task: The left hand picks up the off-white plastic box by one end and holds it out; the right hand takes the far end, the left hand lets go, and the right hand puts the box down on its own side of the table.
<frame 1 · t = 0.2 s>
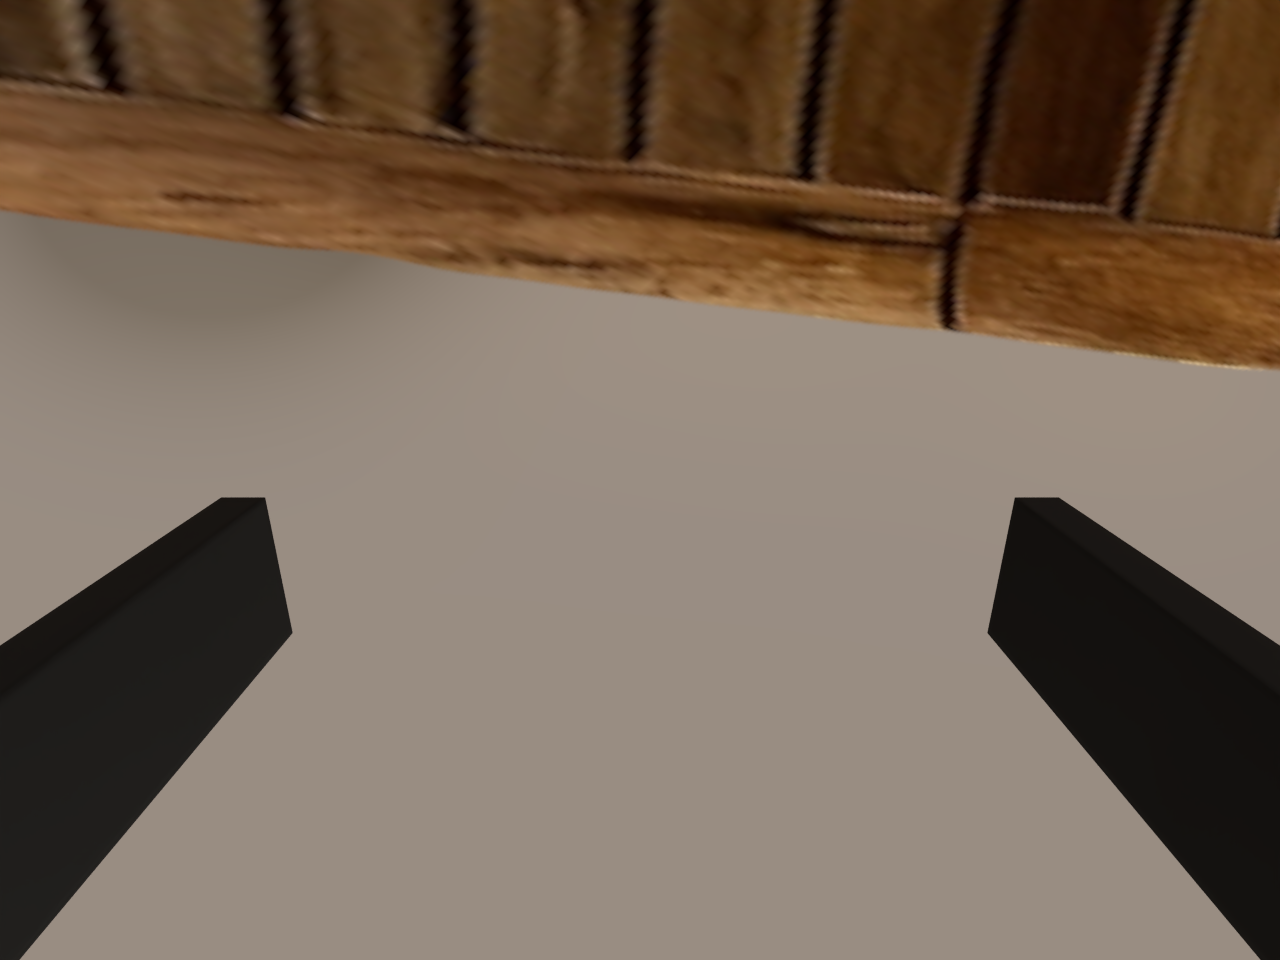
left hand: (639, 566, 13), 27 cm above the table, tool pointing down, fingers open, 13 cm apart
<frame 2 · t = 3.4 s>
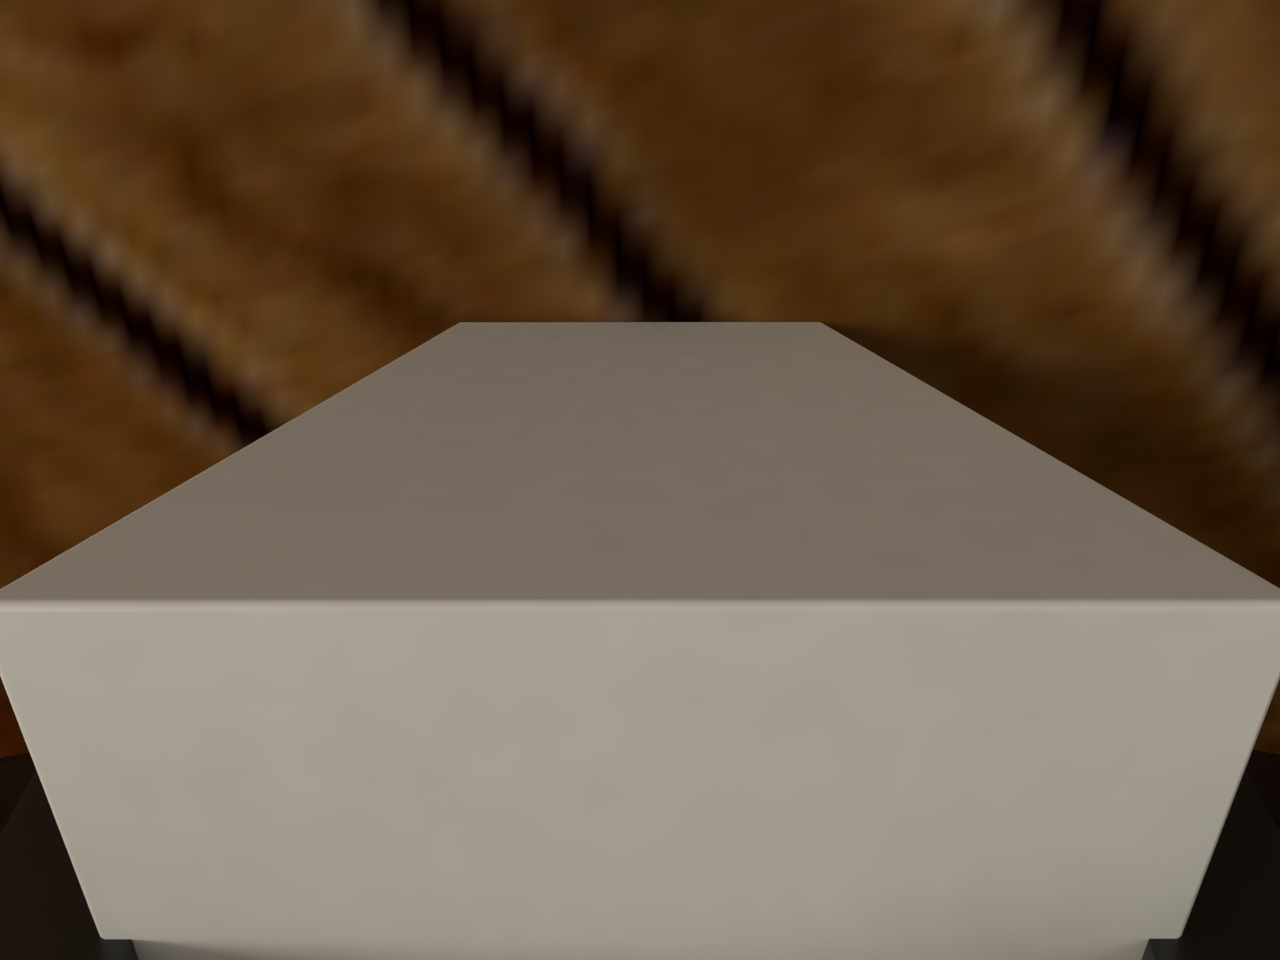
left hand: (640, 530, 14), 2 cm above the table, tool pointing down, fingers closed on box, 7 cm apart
box: (640, 774, 19), on the table, touching left hand
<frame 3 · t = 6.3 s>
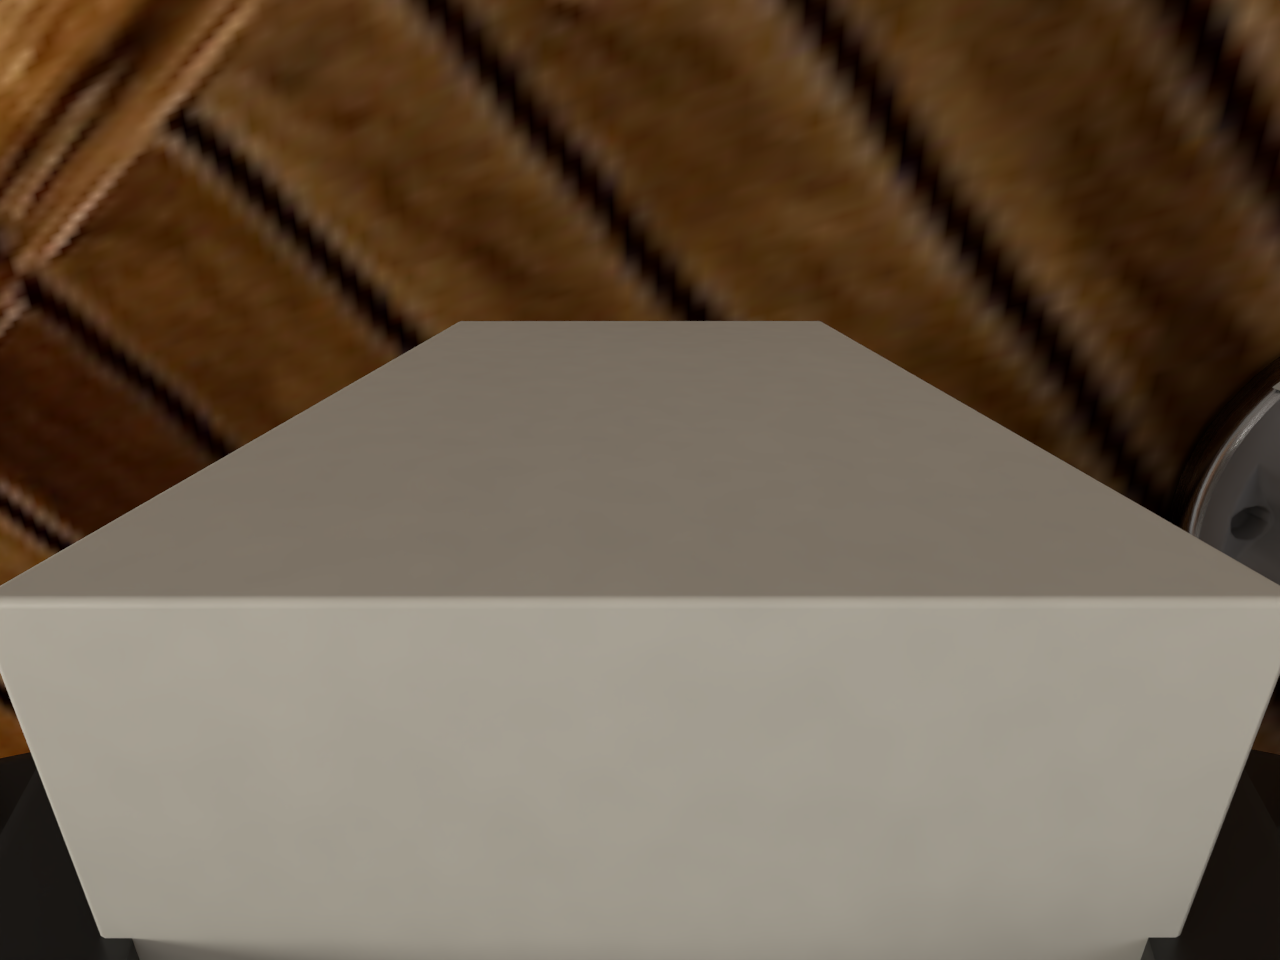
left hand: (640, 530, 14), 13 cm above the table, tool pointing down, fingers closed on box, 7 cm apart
box: (640, 773, 19), point 11 cm above the table, touching left hand
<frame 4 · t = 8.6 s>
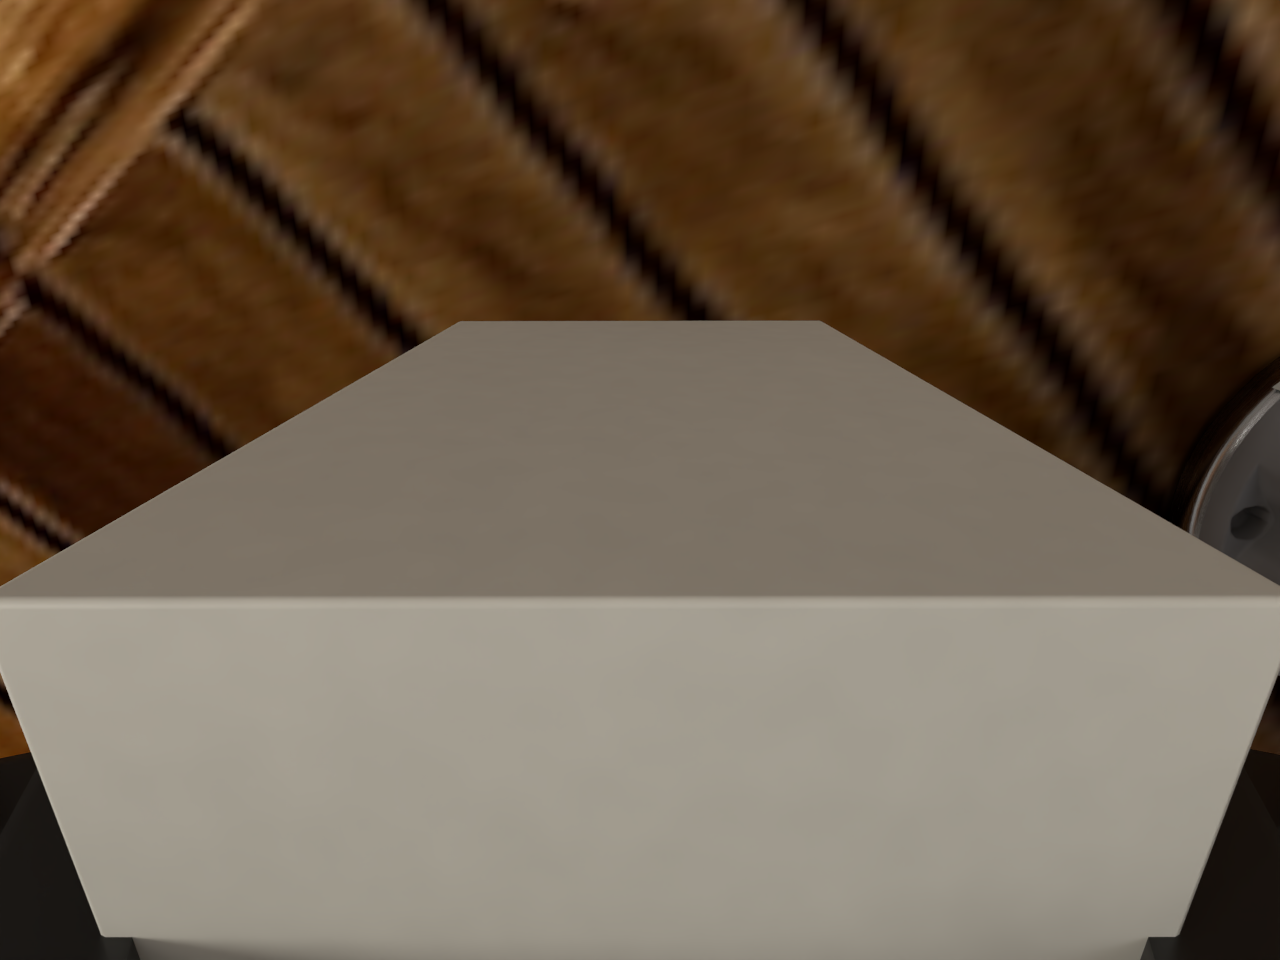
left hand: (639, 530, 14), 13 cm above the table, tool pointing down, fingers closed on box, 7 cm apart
box: (640, 772, 19), point 11 cm above the table, touching left hand, right hand
when the left hand's fingers open (13 cm above the table, at t = 9.4 s): box stays where it is, held by the right hand.
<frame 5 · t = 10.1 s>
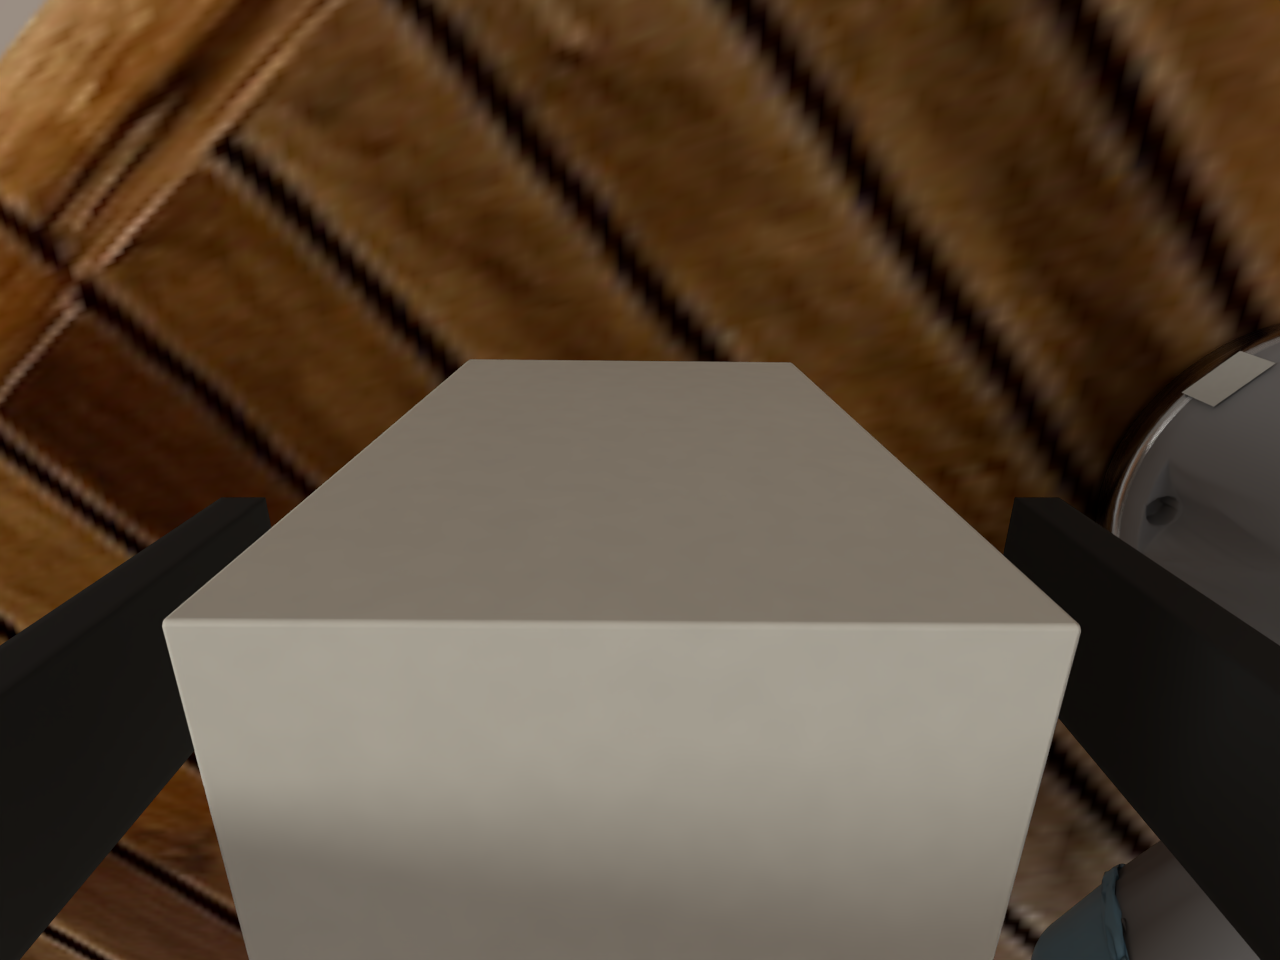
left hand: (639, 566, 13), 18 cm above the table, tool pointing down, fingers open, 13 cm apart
box: (628, 766, 20), point 13 cm above the table, touching right hand
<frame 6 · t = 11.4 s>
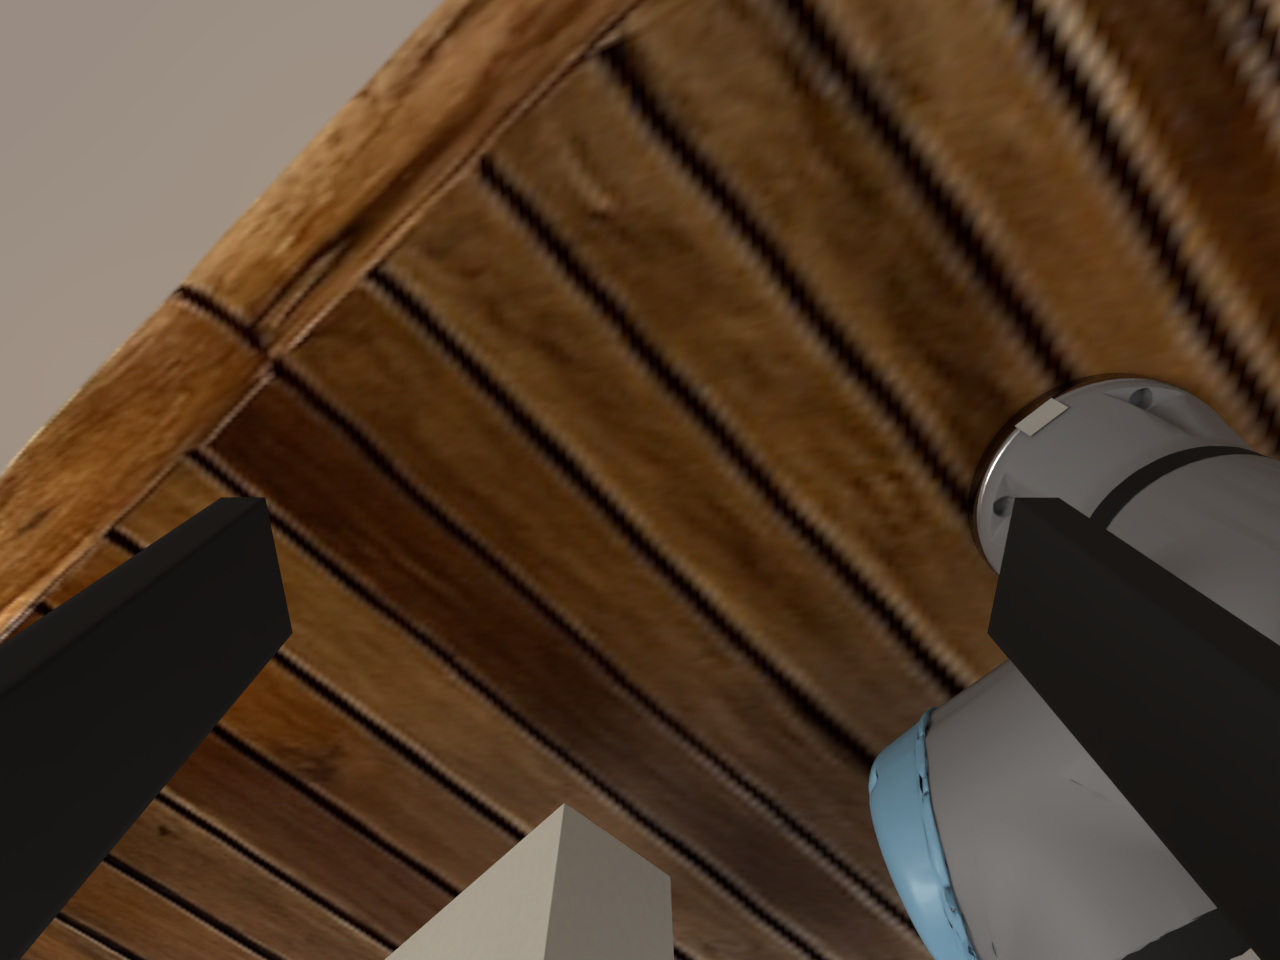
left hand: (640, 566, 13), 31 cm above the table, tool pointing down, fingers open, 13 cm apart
box: (478, 955, 40), point 14 cm above the table, touching right hand
when the right hand's fingers open (4 cm above the table, at t = 14.7 s): box drops 2 cm, on the table.
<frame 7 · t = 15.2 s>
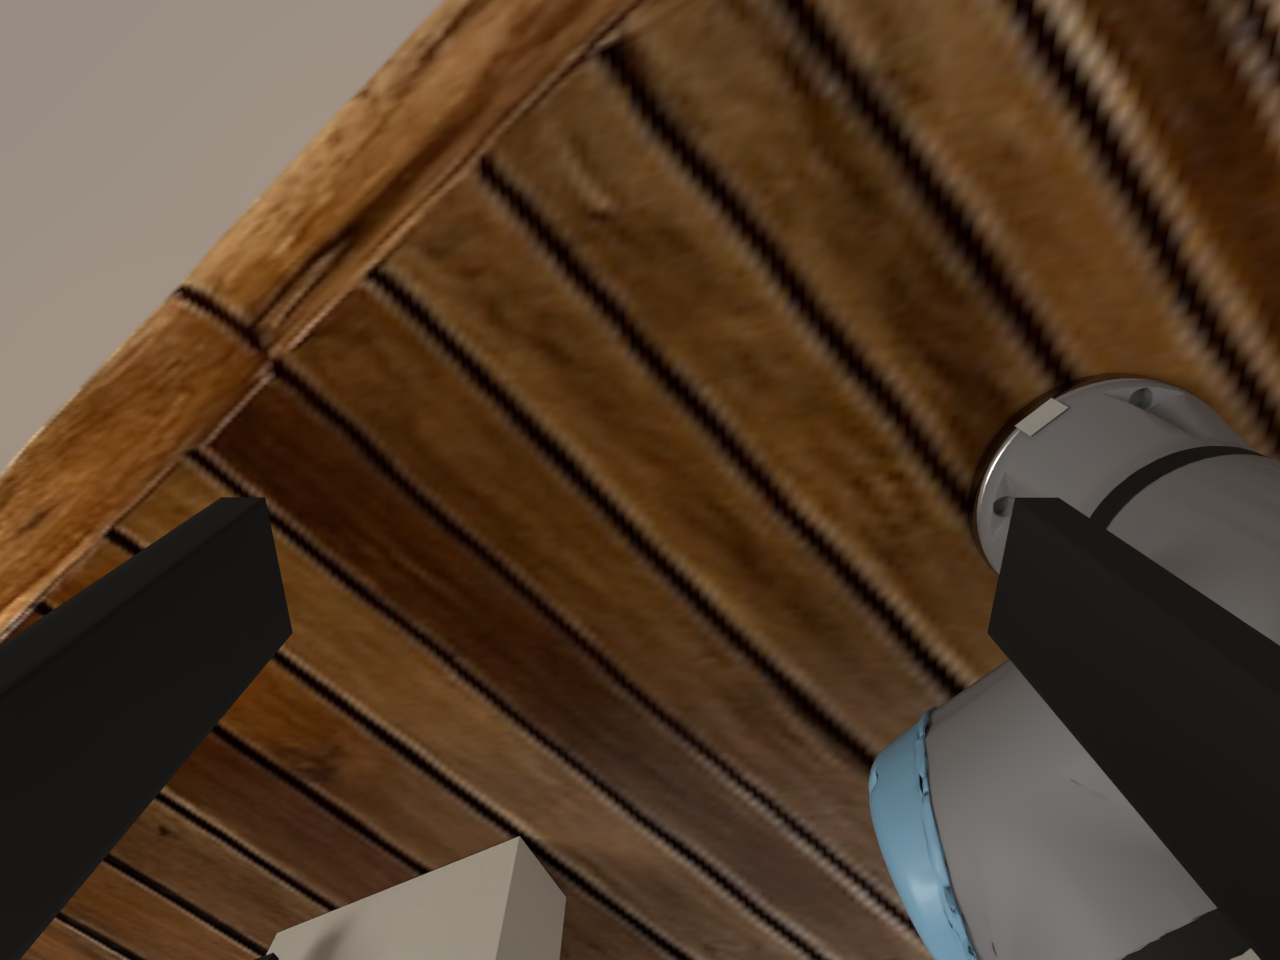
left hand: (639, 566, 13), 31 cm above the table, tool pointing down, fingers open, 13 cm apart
box: (420, 915, 58), on the table
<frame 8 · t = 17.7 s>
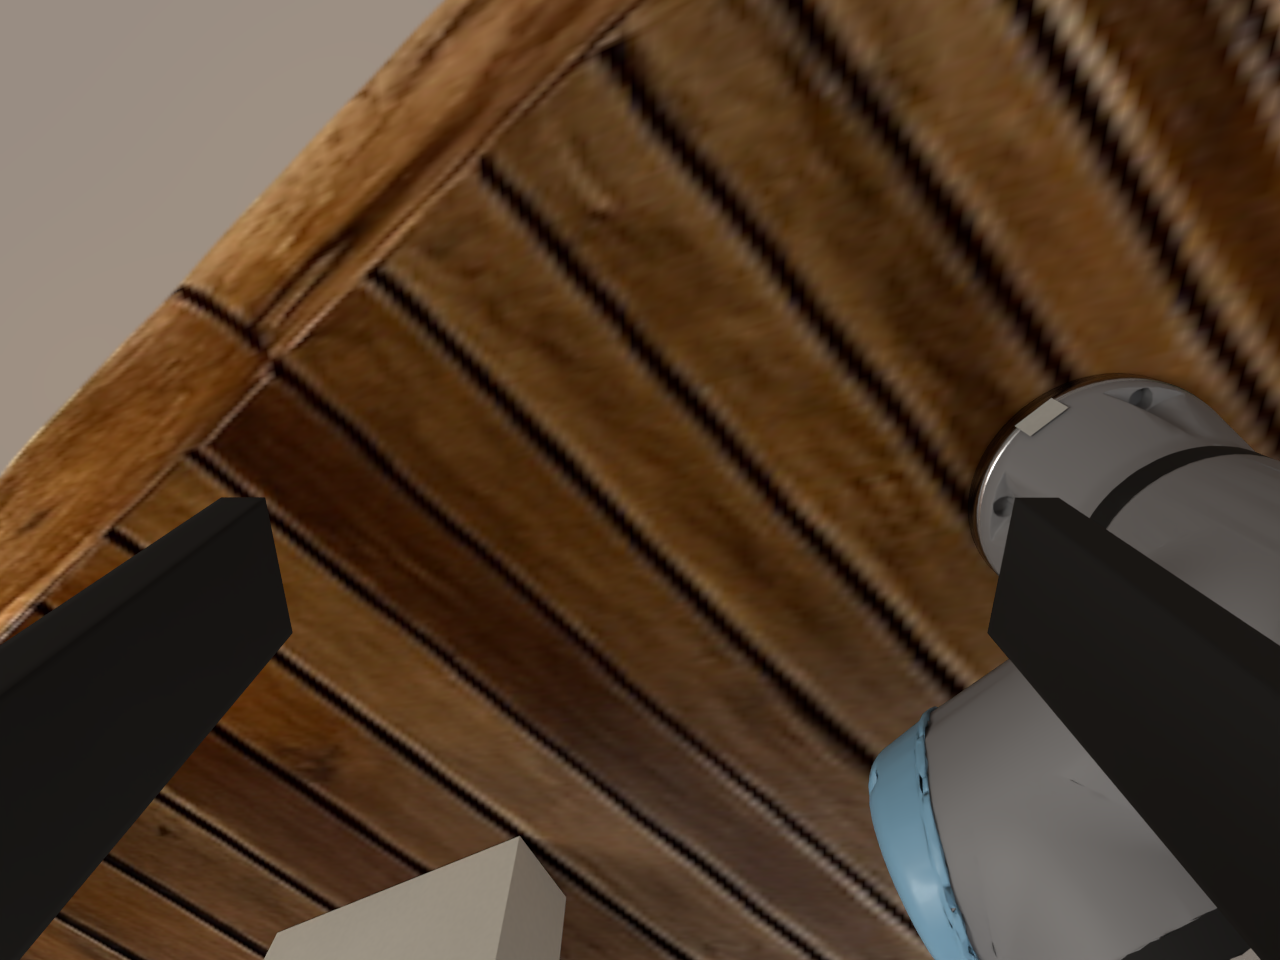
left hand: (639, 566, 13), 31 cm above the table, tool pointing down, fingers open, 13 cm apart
box: (420, 915, 58), on the table
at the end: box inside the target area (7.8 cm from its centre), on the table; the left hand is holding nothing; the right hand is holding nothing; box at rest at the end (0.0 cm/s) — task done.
